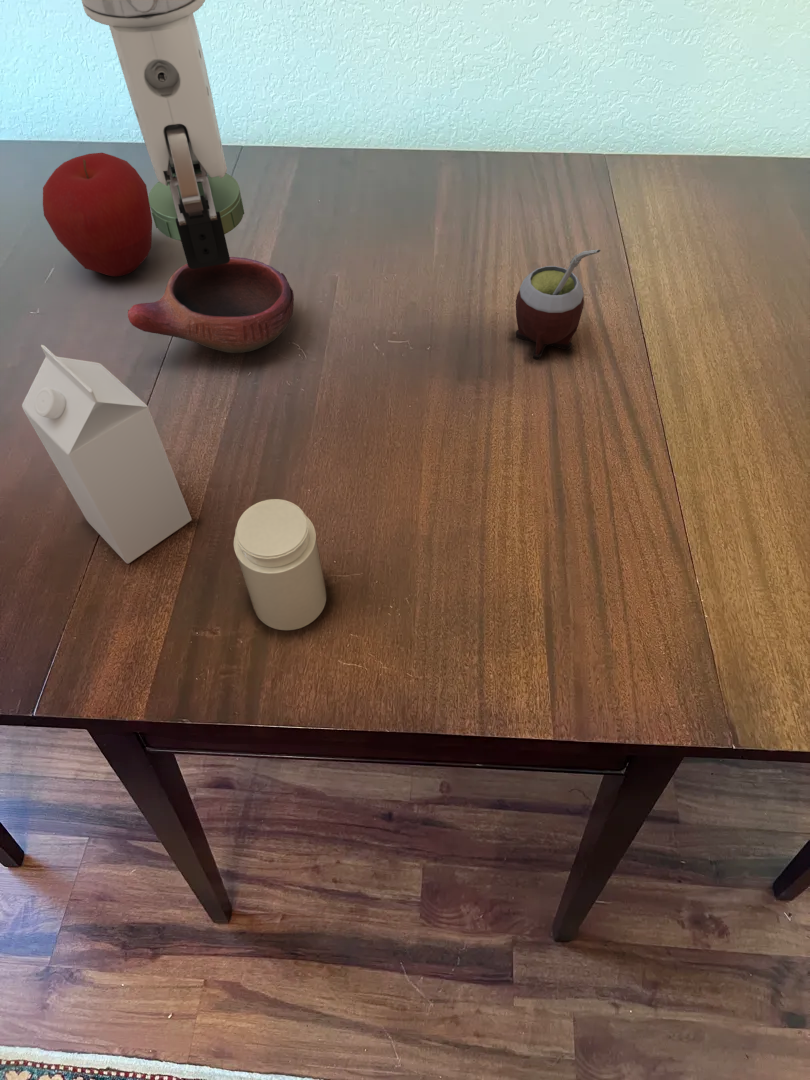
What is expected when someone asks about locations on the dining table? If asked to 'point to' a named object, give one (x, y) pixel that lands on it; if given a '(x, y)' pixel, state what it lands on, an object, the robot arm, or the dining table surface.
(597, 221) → the dining table surface
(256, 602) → the jar
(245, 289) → the bowl
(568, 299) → the mate gourd
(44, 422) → the milk carton
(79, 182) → the apple
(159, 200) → the jar lid
